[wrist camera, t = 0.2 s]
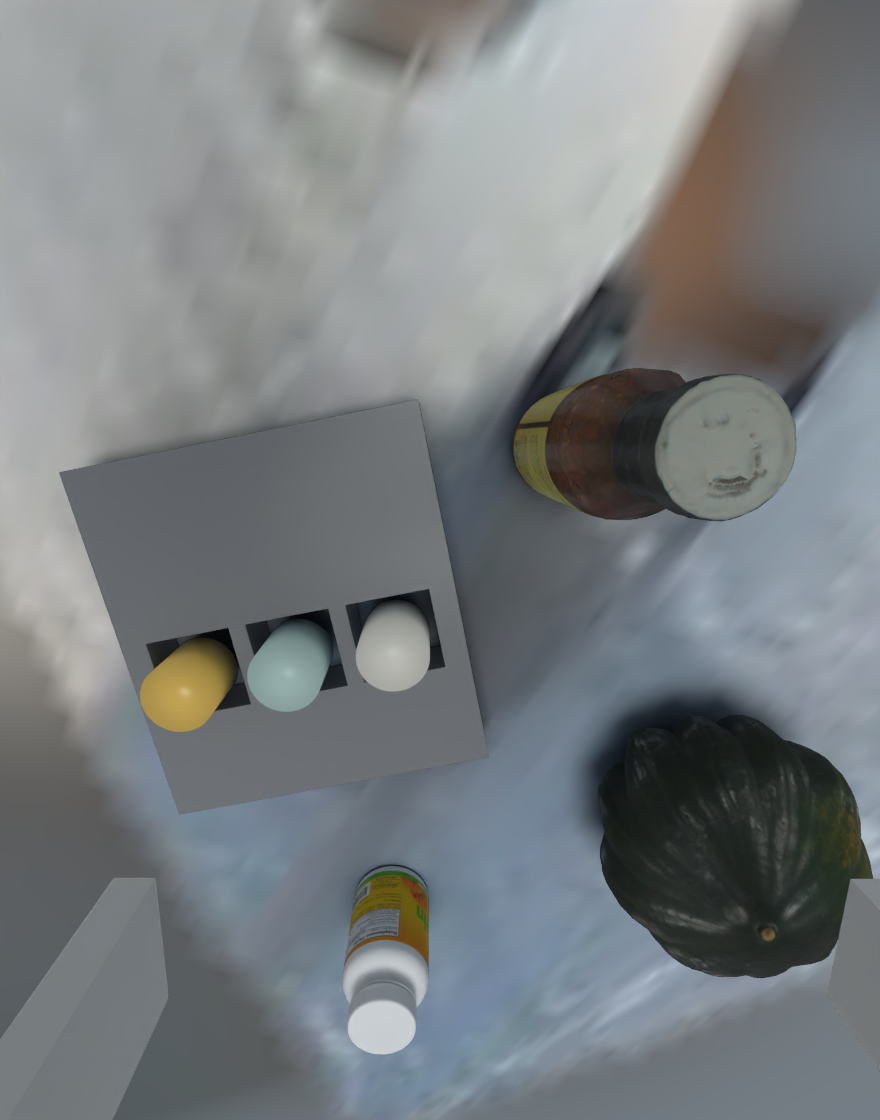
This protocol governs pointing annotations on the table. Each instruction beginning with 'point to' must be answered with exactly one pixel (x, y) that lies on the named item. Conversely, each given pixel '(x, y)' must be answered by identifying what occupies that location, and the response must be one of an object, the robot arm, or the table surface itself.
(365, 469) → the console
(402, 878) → the supplement bottle
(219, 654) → the amber button
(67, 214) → the table surface
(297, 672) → the teal button
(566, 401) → the sauce bottle
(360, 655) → the ivory button
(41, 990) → the robot arm
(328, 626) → the table surface
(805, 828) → the squash
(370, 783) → the table surface
